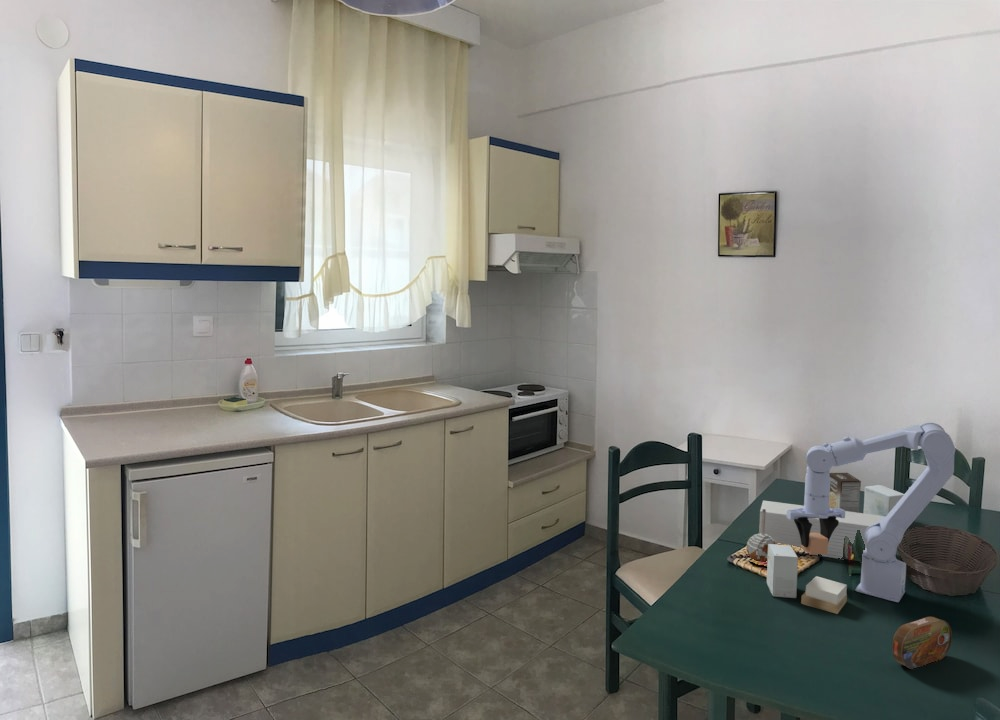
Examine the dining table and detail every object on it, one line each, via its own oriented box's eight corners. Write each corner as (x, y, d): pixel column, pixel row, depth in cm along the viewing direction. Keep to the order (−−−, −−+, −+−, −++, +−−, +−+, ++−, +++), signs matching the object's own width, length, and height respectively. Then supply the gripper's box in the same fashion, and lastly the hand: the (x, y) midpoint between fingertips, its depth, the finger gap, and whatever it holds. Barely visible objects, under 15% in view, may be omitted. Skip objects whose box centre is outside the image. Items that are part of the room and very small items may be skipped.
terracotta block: (817, 547, 176) (818, 532, 176) (827, 554, 172) (828, 538, 171) (800, 547, 176) (801, 532, 175) (810, 554, 171) (811, 539, 171)
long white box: (758, 547, 197) (760, 511, 196) (761, 534, 207) (763, 500, 206) (884, 566, 184) (887, 528, 182) (881, 552, 193) (884, 515, 192)
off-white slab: (846, 594, 162) (846, 584, 162) (836, 605, 157) (837, 594, 157) (815, 585, 167) (816, 576, 167) (805, 595, 162) (806, 585, 162)
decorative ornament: (764, 570, 181) (766, 515, 179) (740, 560, 187) (742, 507, 186) (783, 564, 185) (785, 511, 183) (759, 554, 191) (761, 502, 190)
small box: (796, 599, 164) (798, 557, 163) (772, 597, 166) (774, 555, 164) (789, 584, 172) (791, 544, 171) (766, 582, 173) (767, 543, 172)
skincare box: (861, 517, 222) (863, 485, 220) (878, 515, 223) (880, 484, 222) (887, 528, 212) (889, 495, 210) (904, 526, 213) (906, 494, 212)
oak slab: (846, 603, 163) (846, 593, 163) (837, 616, 157) (837, 606, 157) (811, 594, 168) (811, 584, 168) (801, 605, 162) (801, 595, 162)
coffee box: (824, 520, 218) (827, 472, 216) (844, 521, 218) (847, 472, 216) (837, 531, 209) (840, 480, 207) (858, 531, 209) (862, 480, 207)
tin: (902, 673, 133) (905, 633, 132) (887, 665, 136) (890, 625, 135) (952, 656, 139) (955, 617, 138) (937, 649, 142) (940, 611, 141)
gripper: (797, 499, 167) (795, 552, 169) (853, 497, 169) (850, 550, 170) (783, 490, 174) (781, 541, 176) (837, 489, 176) (834, 539, 177)
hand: (814, 545), depth 174 cm, fingers closed on terracotta block, 4 cm apart
